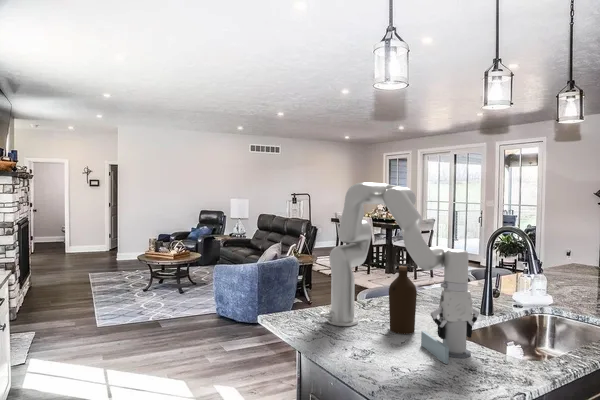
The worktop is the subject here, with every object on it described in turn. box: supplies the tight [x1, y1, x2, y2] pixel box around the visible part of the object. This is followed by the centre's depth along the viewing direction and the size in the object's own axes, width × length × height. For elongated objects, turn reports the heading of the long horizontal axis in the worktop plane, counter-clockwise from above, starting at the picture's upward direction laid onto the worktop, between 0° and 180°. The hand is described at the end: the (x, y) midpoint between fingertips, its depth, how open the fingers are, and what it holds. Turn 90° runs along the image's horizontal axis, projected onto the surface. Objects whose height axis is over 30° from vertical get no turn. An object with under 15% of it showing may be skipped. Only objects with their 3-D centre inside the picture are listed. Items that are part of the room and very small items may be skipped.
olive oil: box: [388, 265, 418, 335], centre depth 163 cm, size 11×11×25 cm
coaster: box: [449, 349, 472, 359], centre depth 141 cm, size 10×10×1 cm
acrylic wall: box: [420, 330, 450, 364], centre depth 139 cm, size 1×16×5 cm, turn 11°
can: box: [442, 319, 467, 354], centre depth 141 cm, size 8×8×12 cm
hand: (454, 337), depth 141 cm, fingers open, 9 cm apart
